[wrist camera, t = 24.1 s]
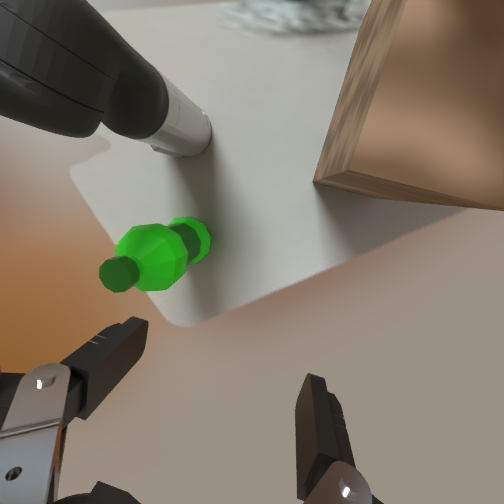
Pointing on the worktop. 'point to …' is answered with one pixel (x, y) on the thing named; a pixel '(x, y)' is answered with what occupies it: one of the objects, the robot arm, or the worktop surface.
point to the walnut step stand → (422, 106)
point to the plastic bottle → (155, 255)
